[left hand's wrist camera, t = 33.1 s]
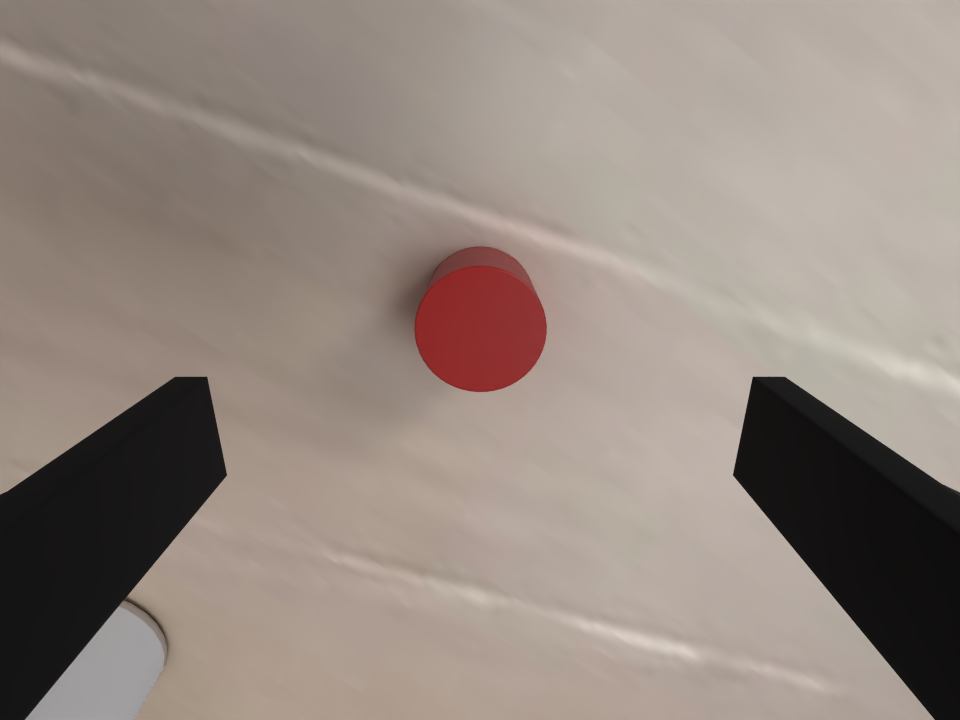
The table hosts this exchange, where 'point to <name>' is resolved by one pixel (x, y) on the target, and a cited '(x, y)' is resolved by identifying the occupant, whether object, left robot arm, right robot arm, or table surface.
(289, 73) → the table surface
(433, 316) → the red cylinder
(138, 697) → the mug
